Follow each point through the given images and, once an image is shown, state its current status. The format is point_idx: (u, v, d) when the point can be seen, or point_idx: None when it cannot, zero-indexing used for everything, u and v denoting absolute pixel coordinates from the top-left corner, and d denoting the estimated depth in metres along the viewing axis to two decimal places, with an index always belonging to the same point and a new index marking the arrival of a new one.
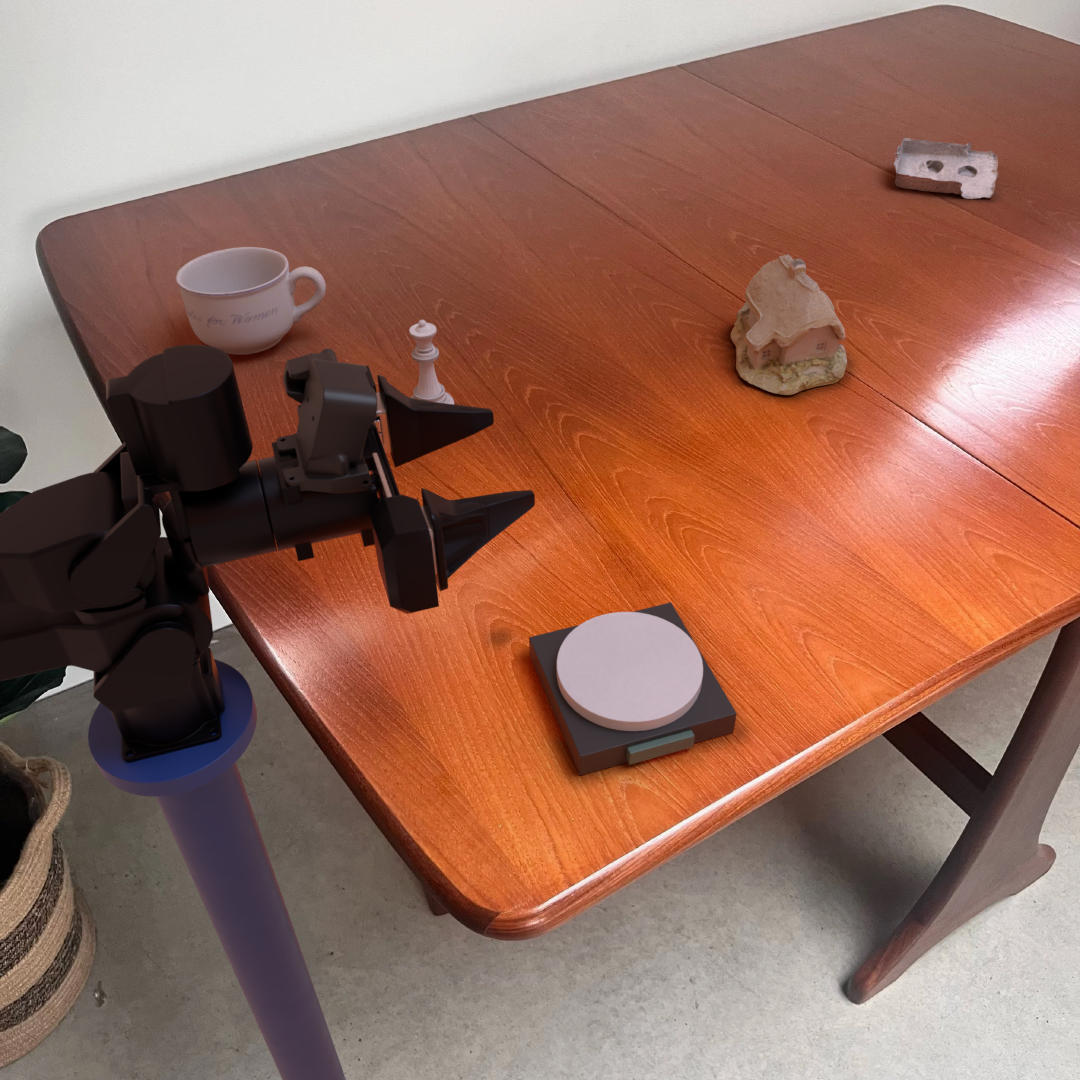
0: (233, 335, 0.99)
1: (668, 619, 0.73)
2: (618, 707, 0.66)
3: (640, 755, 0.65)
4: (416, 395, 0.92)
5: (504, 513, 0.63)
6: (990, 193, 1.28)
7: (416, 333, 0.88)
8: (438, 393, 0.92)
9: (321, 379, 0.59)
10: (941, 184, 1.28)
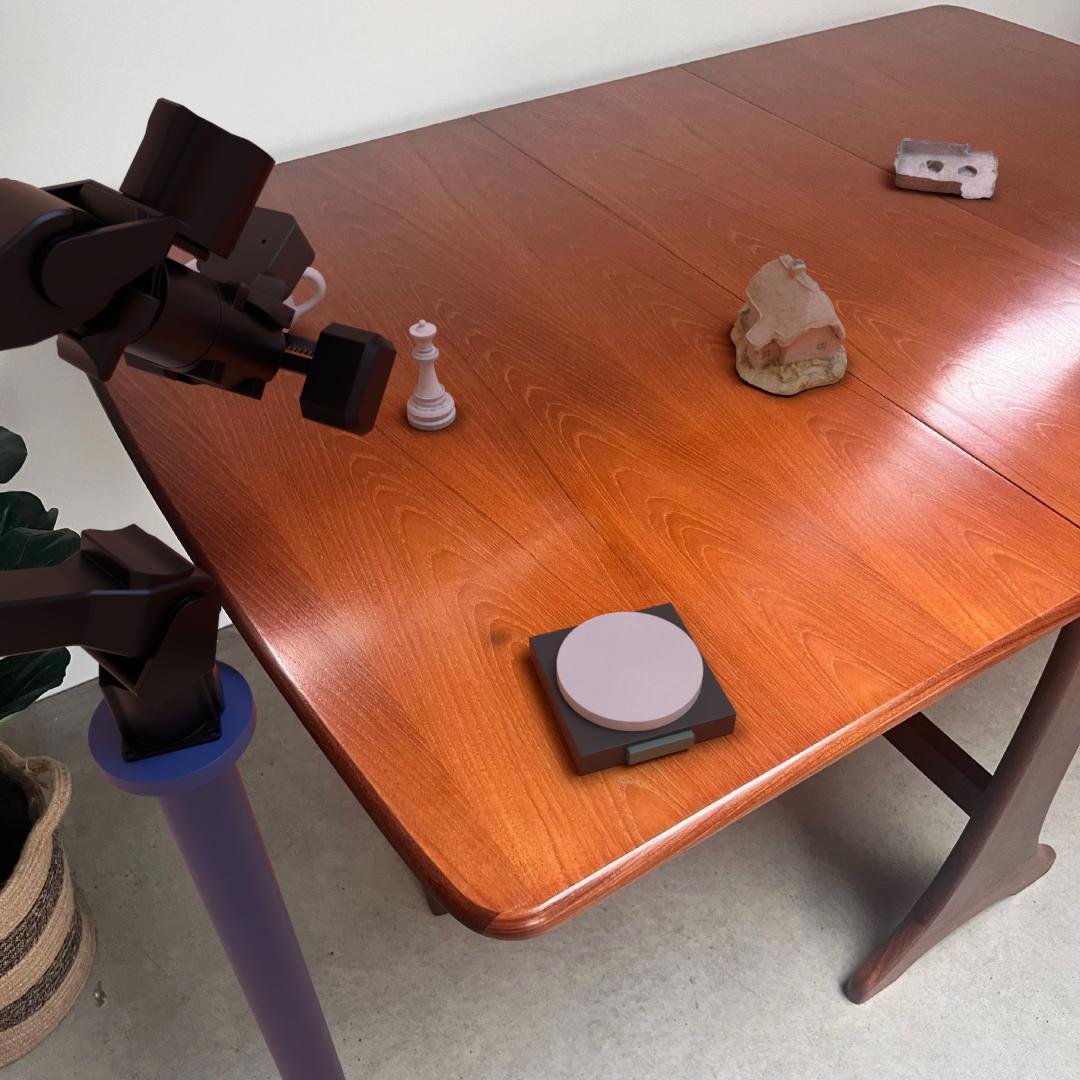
0: None
1: (668, 619, 0.73)
2: (618, 707, 0.66)
3: (640, 755, 0.65)
4: (416, 395, 0.92)
5: None
6: (990, 193, 1.28)
7: (416, 333, 0.88)
8: (438, 393, 0.92)
9: (277, 211, 0.64)
10: (941, 184, 1.28)
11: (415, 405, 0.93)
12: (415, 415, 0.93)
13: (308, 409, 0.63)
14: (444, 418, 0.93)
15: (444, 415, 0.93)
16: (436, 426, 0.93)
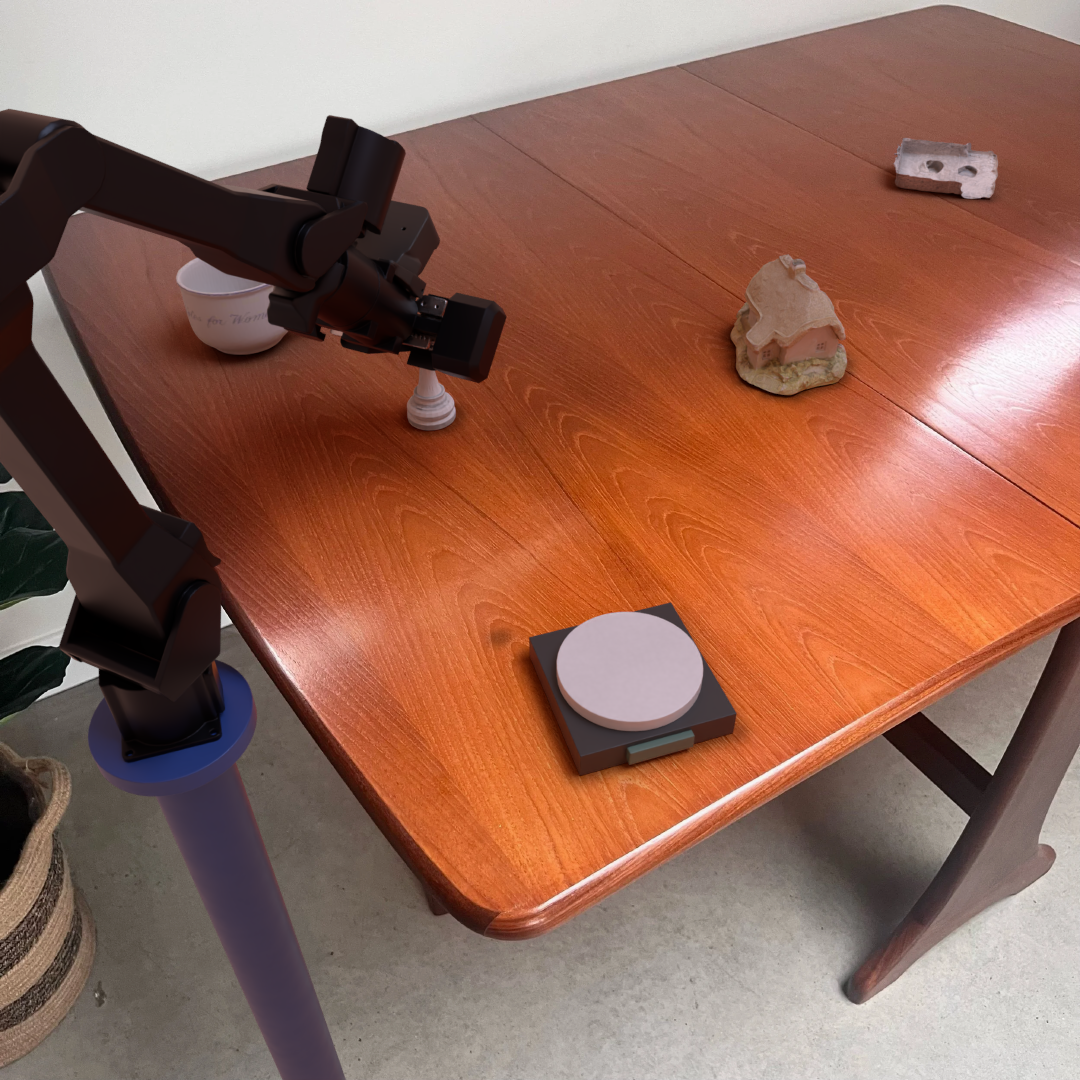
0: (233, 335, 0.99)
1: (668, 619, 0.73)
2: (618, 707, 0.66)
3: (640, 755, 0.65)
4: (416, 395, 0.92)
5: None
6: (990, 193, 1.28)
7: None
8: (438, 393, 0.92)
9: (413, 205, 0.81)
10: (941, 184, 1.28)
11: (415, 405, 0.93)
12: (415, 415, 0.93)
13: (438, 361, 0.80)
14: (444, 418, 0.93)
15: (444, 415, 0.93)
16: (436, 426, 0.93)
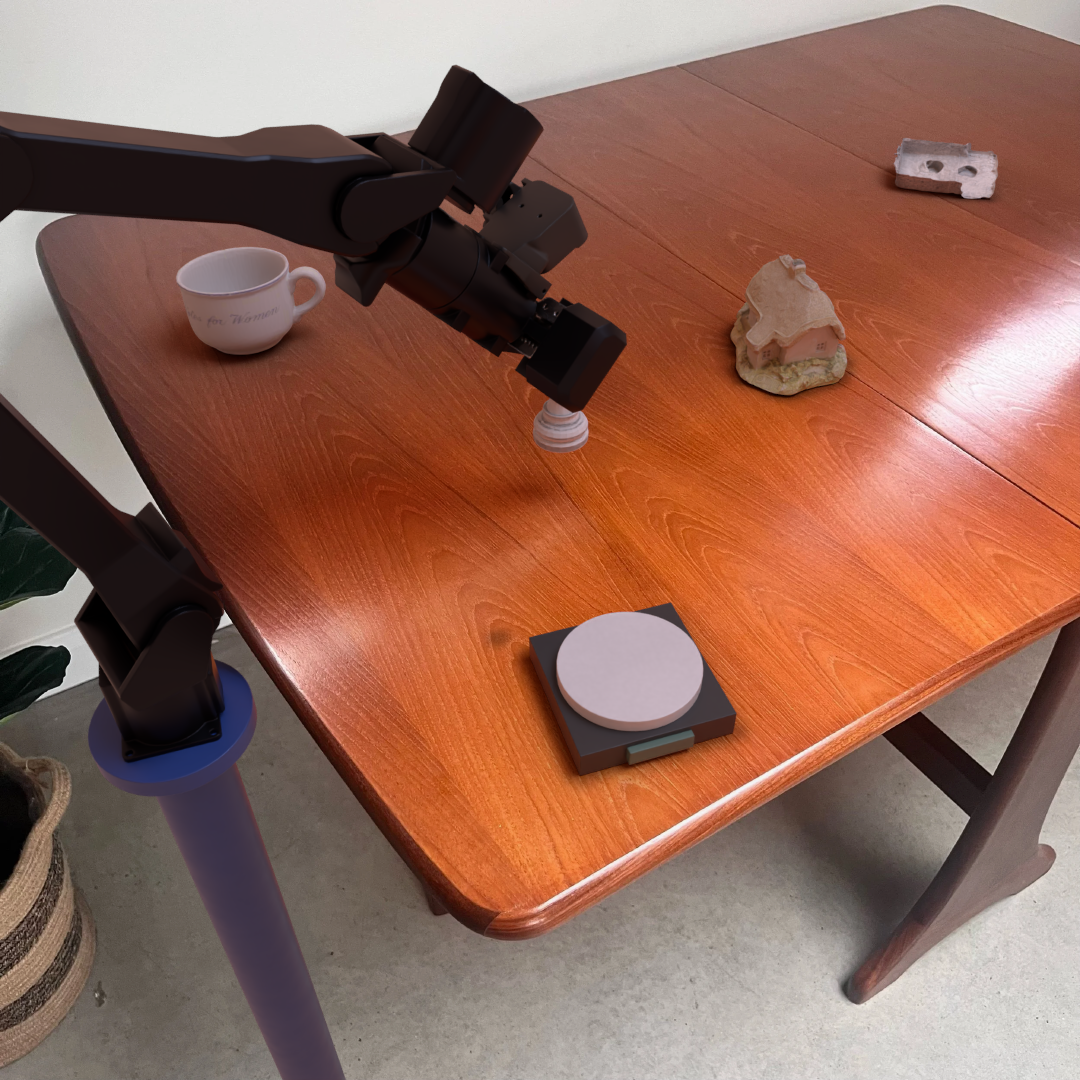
0: (233, 335, 0.99)
1: (668, 619, 0.73)
2: (618, 707, 0.66)
3: (640, 755, 0.65)
4: (544, 408, 0.81)
5: None
6: (990, 193, 1.28)
7: None
8: (567, 413, 0.80)
9: (563, 191, 0.69)
10: (941, 184, 1.28)
11: (540, 419, 0.81)
12: (537, 430, 0.81)
13: (531, 375, 0.68)
14: (567, 442, 0.81)
15: (567, 439, 0.80)
16: (556, 449, 0.81)
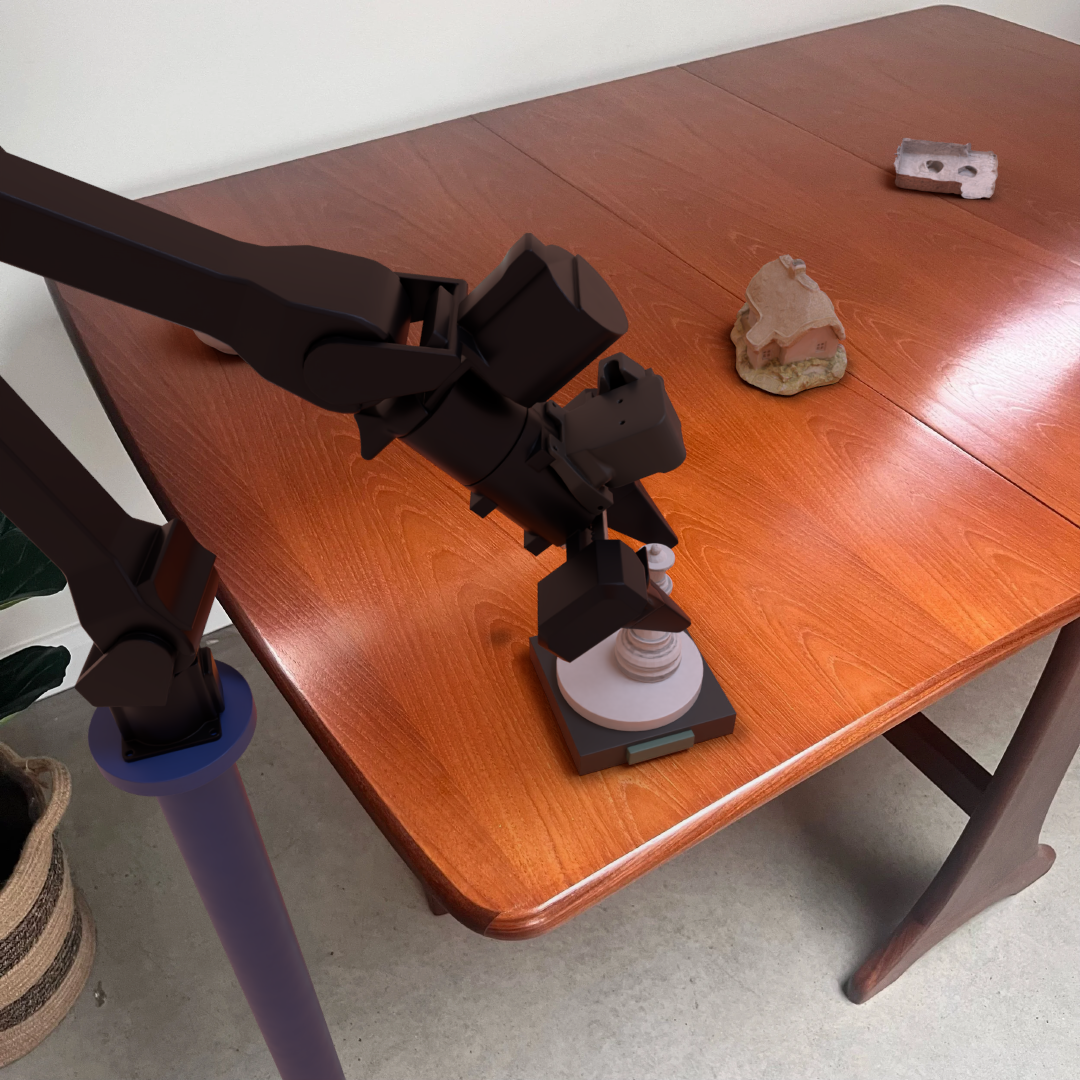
0: None
1: None
2: (618, 707, 0.66)
3: (640, 755, 0.65)
4: None
5: (662, 619, 0.60)
6: (990, 193, 1.28)
7: None
8: (648, 638, 0.66)
9: (664, 403, 0.54)
10: (941, 184, 1.28)
11: (625, 629, 0.68)
12: (616, 640, 0.68)
13: None
14: (638, 670, 0.67)
15: (637, 666, 0.66)
16: (625, 670, 0.67)
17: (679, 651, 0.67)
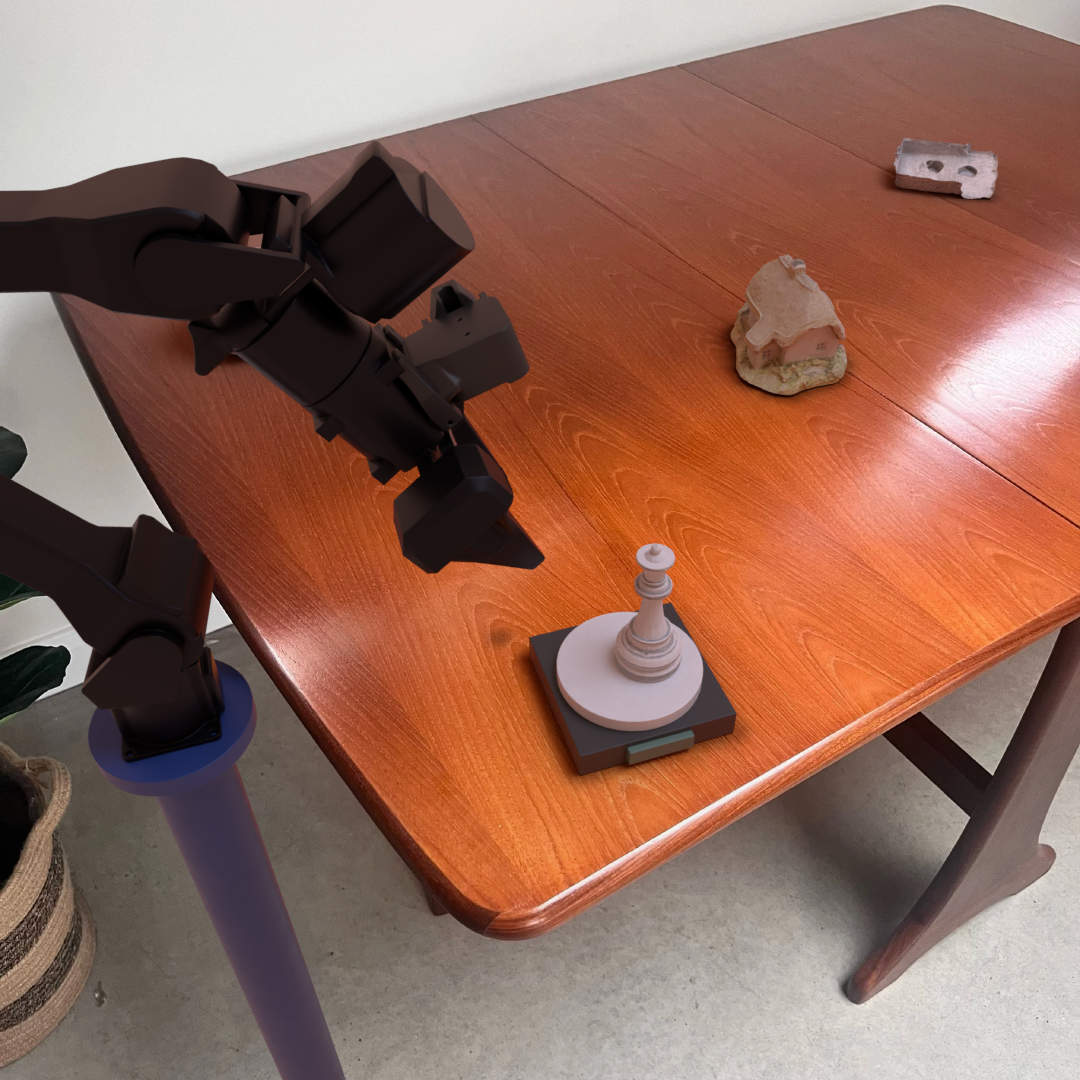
0: None
1: (668, 619, 0.73)
2: (618, 707, 0.66)
3: (640, 755, 0.65)
4: (631, 620, 0.67)
5: (519, 551, 0.59)
6: (990, 193, 1.28)
7: (642, 554, 0.63)
8: (648, 638, 0.66)
9: (506, 313, 0.56)
10: (941, 184, 1.28)
11: (625, 629, 0.68)
12: (616, 640, 0.68)
13: (395, 514, 0.55)
14: (638, 670, 0.67)
15: (637, 666, 0.66)
16: (625, 670, 0.67)
17: (679, 651, 0.67)
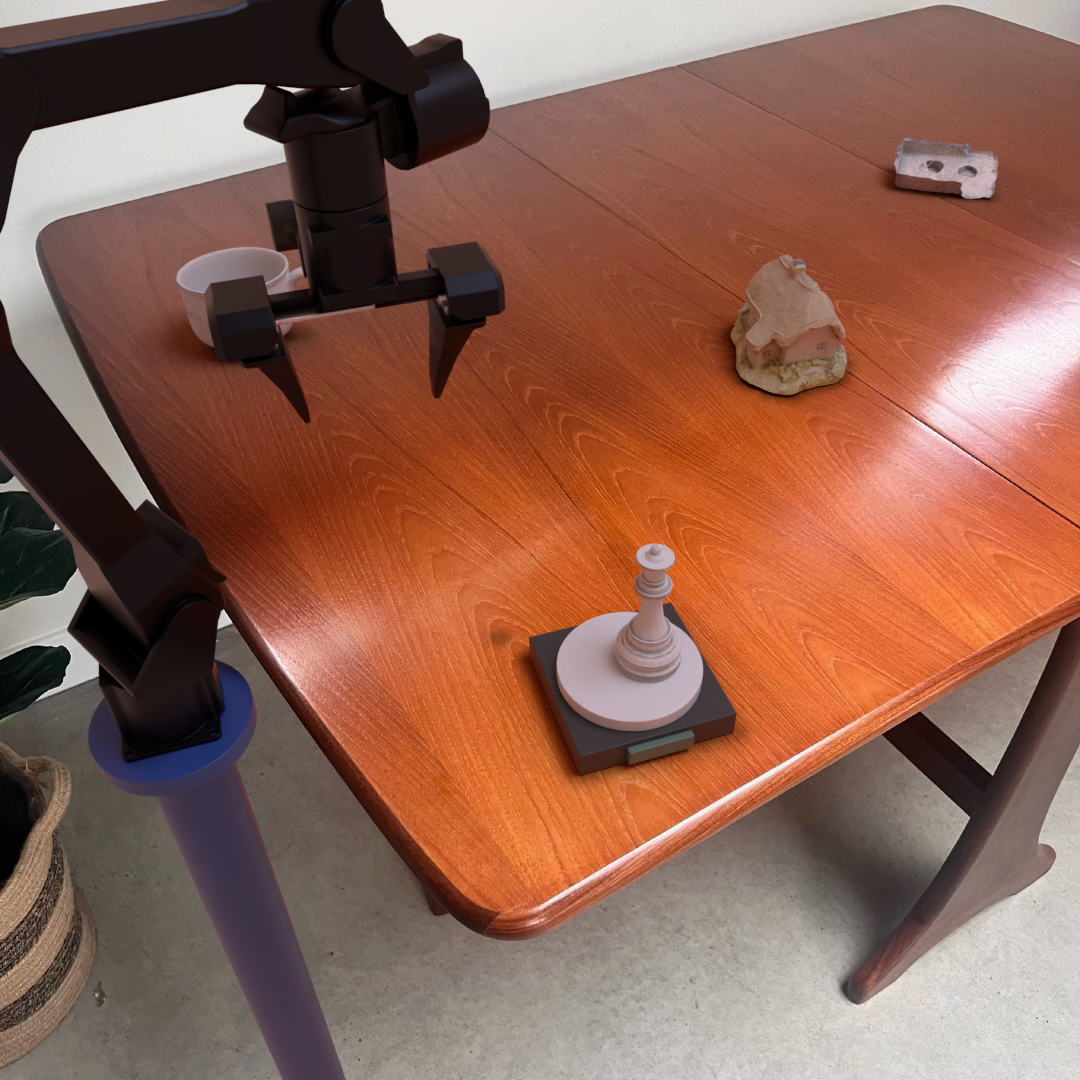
0: None
1: (668, 619, 0.73)
2: (618, 707, 0.66)
3: (640, 755, 0.65)
4: (631, 620, 0.67)
5: None
6: (990, 193, 1.28)
7: (642, 554, 0.63)
8: (648, 638, 0.66)
9: None
10: (941, 184, 1.28)
11: (625, 629, 0.68)
12: (616, 640, 0.68)
13: (454, 284, 0.66)
14: (638, 670, 0.67)
15: (637, 666, 0.66)
16: (625, 670, 0.67)
17: (679, 651, 0.67)
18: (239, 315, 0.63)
